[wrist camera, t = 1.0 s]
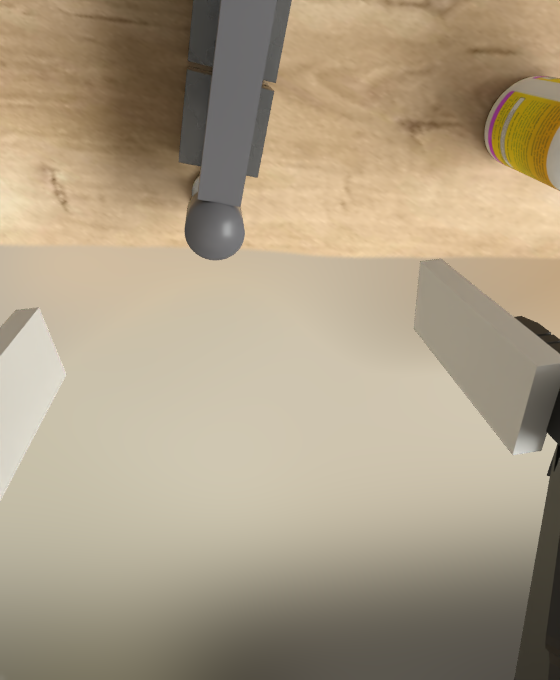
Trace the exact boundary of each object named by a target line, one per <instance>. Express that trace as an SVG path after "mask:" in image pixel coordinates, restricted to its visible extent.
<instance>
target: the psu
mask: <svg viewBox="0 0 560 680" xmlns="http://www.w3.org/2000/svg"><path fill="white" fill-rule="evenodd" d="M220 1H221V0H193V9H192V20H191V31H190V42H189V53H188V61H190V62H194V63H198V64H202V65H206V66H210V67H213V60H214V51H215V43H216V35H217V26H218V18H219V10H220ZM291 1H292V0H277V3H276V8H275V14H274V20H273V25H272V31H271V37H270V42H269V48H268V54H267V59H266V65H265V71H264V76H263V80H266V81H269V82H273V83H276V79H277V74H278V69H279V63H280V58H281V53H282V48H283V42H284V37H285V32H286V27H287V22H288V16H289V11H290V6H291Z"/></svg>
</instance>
